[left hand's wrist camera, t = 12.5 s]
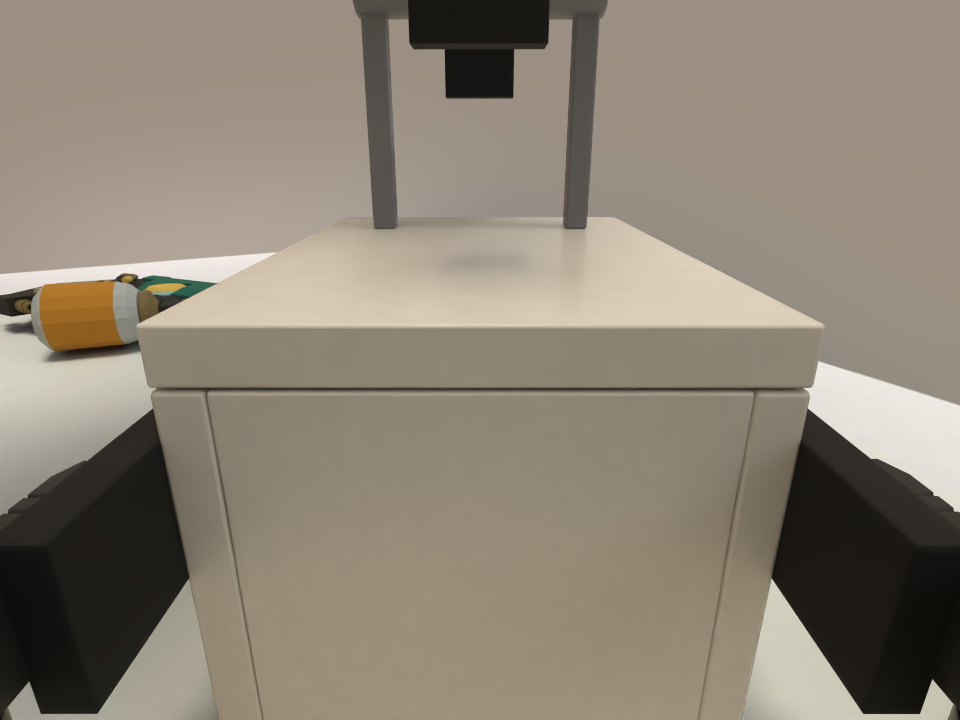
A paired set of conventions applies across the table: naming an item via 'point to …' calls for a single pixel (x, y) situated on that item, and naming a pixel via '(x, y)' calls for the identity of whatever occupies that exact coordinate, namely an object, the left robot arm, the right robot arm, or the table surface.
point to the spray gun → (97, 308)
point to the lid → (480, 289)
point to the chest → (480, 547)
